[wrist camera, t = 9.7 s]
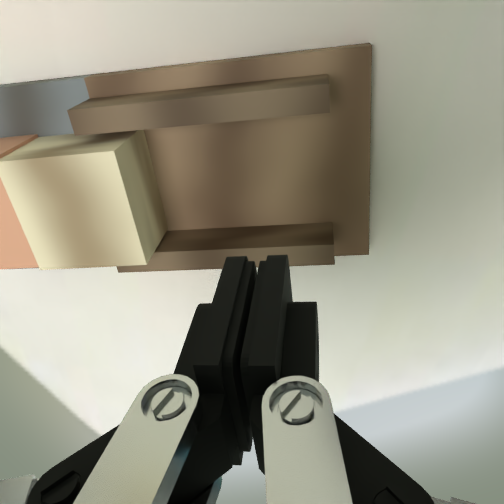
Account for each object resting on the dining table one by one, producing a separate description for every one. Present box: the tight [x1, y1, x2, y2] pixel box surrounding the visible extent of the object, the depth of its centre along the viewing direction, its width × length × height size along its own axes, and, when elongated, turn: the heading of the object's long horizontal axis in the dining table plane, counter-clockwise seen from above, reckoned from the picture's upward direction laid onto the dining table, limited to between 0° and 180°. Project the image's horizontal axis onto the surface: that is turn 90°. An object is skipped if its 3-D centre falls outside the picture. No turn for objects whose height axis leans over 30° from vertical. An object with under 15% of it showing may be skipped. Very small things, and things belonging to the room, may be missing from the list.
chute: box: [0, 43, 372, 273], centre depth 24 cm, size 23×11×4 cm, turn 97°
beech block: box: [0, 130, 168, 270], centre depth 24 cm, size 6×6×4 cm
